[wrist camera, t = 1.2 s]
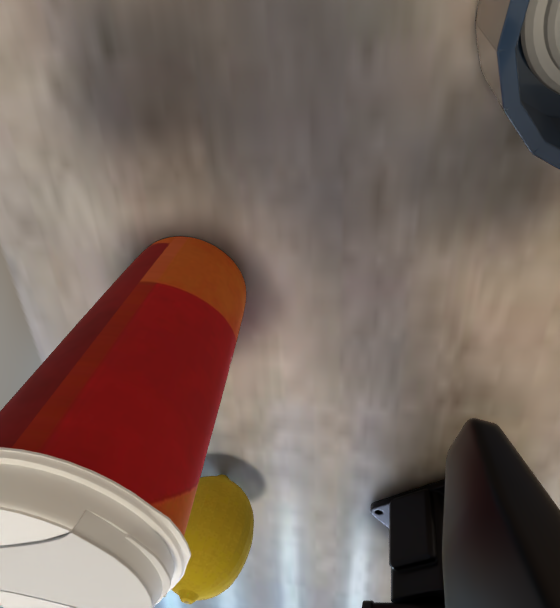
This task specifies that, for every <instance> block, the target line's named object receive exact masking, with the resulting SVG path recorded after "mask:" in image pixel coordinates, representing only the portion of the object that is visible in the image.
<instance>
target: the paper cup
mask: <svg viewBox="0 0 560 608" xmlns="http://www.w3.org/2000/svg"><path fill="white" fill-rule="evenodd" d="M245 303H246V286H245V281H244V279H243V276H242V274H241V272H240V270H239V269H238V267H237V266H236V264H235V263H234V262H233V261H232V259H231V258H230V257H229V256H227V255H226V254H225V253H224V252H223V251H221V250H220V249H218V248H217V247H215V246H213V245H212V244H210V243H207V242H205V241H202V240H199V239H196V238H191V237H182V236H179V237H169V238H165V239H162V240H159V241H157V242H155V243H153V244H152V245H150V246H149V247H148V248H147V249H145V250H144V251H143V252H142V253H141V254H140V255H139V256H138V257H137V258H136V259H135V260H134V262H133V263H132V264H131V265H130V266H129V267H128V268H127V269H126V270H125V271H124V272H123V273H122V274H121V276H120V277H119V278H118V279H117V280H116V281H115V282H114V283H113V284H112V286H111V287H110V288H109V289H108V290H107V291H106V292H105V293H104V294H103V296H102V297H101V298H100V299H99V300H98V301H97V302H96V303H95V305H94V306H93V307H92V308H91V309H90V310H89V311H88V312H87V314H86V315H85V316H84V317H83V318H82V319H81V320H80V321H79V323H78V324H77V325H76V326H75V327H74V328H73V329H72V330H71V332H70V333H69V334H68V335H67V336H66V337H65V338H64V340H63V341H62V342H61V343H60V344H59V345H58V346H57V347H56V349H55V350H54V351H53V352H52V353H51V354H50V355H49V357H48V358H47V359H46V360H45V361H44V362H43V363H42V365H41V366H40V367H39V368H38V369H37V370H36V371H35V372H34V374H33V375H32V376H31V377H30V378H29V379H28V380H27V382H26V383H25V384H24V385H23V386H22V387H21V388H20V390H19V391H18V392H17V393H16V394H15V395H14V396H13V397H12V399H11V400H10V401H9V402H8V403H7V404H6V405H5V407H4V408H3V409H2V410H1V411H0V606H2V607H4V608H153V607H154V606H155V605H156V604H157V603H159V602H160V601H161V599H162V598H163V597H165V596H166V594H167V592H168V591H169V590H171V589H172V588H173V587H175V585H176V584H177V583H178V582H179V581H180V580H181V578H182V577H183V575H184V573H185V570H186V566H187V564H188V561H189V559H190V557H191V552H190V549H189V546H188V543H187V541H186V539H185V538H184V535H185V531H186V528H187V524H188V520H189V516H190V513H191V509H192V505H193V502H194V498H195V494H196V491H197V487H198V483H199V479H200V476H201V472H202V468H203V465H204V461H205V457H206V454H207V450H208V446H209V443H210V439H211V435H212V431H213V428H214V424H215V420H216V417H217V413H218V409H219V406H220V402H221V398H222V394H223V391H224V387H225V383H226V379H227V376H228V372H229V368H230V364H231V361H232V357H233V353H234V349H235V345H236V342H237V338H238V334H239V330H240V326H241V322H242V317H243V313H244V308H245Z"/></svg>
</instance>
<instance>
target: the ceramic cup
mask: <svg viewBox="0 0 560 608" xmlns="http://www.w3.org/2000/svg"><path fill="white" fill-rule="evenodd" d="M529 2H530V0H479V4H478V9H477V16H476V20H475V21H476V23H475V26H476V38H477V48H478V53H479V58H480V65H481V71H482V74H483V75H484V77H485V79H486V81H487V82H488V84H489V86H490V88H491V89H492V91H493V93H494V95H495V97H496V98H497V100H498V102H499V104H500V105H501V107H502V109H503V111H504V112H505V114H506V115H507V117H508V119H509V120H510V122H511V123H512V125H513V126H514V128H515V129H516V131H517V132H518V134H519V136H520V137H521V139H522V140H523V142H524V143H525V145H526V146H527V148H528V149H529V151H530V152H531V153H532V154H533V155H535V156H536V157H538V158H540V159H542V160H544V161H545V162H547V163H549V164H551V165H552V166H554V167H556V168H558V169H559V170H560V95H559V94H557V93H555V92H553V91H552V90H550V89H548V88H547V87H546V86H545V85H543V84H542V83H541V82H540V81H539V80H538V79H537V78H536V76H535V75H534V74H533V72H532V71H531V69H530V67H529V66H528V64H527V61H526V59H525V56H524V53H523V48H522V44H521V33H520V32H521V29H522V25H523V22H524V19H525V15H526V12H527V9H528V5H529Z"/></svg>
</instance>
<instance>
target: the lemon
mask: <svg viewBox="0 0 560 608" xmlns="http://www.w3.org/2000/svg"><path fill="white" fill-rule="evenodd" d="M253 526H254V519H253V511H252V508H251V505H250V502H249V500H248V498H247V496H246V494H245V493H244V492H243V490H242V489H241V488H240V487H239V486H238V485H236V484H235V483H234V482H232V481H230V480H229V478H228V477H227V476H226V475H223V474H221V475H218V476H208V477H202V478H200V479H199V483H198V487H197V491H196V494H195V498H194V502H193V505H192V509H191V513H190V516H189V520H188V524H187V528H186V531H185V535H184V538H185V539H186V541H187V543H188V546H189V549H190V552H191V557H190V559H189V561H188V564H187V566H186V570H185V573H184V575H183V577H182V578H181V580H180V581H179V582H178V583H177V584H176V585H175V587H173V588H172V589H171V590H173V591H174V592H175V593H176V594H178V595H179V597H180V599H181V601H182V602H184V603H186V604H192V603H193V602H195V601H196V600H206V599H209V598H212V597H215V596H217V595H219V594H220V593H222V592H224V591H225V590H226V589H228V588H229V587H230V586H231V585H232V584H233V582H234V581H235V579H236V578H237V576H238V575H239V573H240V572H241V570H242V568H243V566H244V564H245V562H246V559H247V557H248V554H249V551H250V548H251V544H252V539H253Z"/></svg>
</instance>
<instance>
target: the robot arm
mask: <svg viewBox="0 0 560 608" xmlns="http://www.w3.org/2000/svg"><path fill="white" fill-rule="evenodd" d="M371 513H372V514H373V515H374V516H375V517H376V518H377V519H378V520H380V521H381V522H382V523H383V524H384V525H385V526H387V527H388V528H389V565H390V566H391V601H392V602H393V603H374V602H373V601H363V604H362V608H560V510H559V508H558V507H557V506H556V504H555V503H554V501H553V500H552V499H551V497H550V496H549V495H548V493H547V492H546V490H545V489H544V488H543V486H542V485H541V483H540V482H539V481H538V479H537V478H536V477H535V475H534V474H533V472H532V471H531V470H530V468H529V467H528V466H527V464H526V463H525V461H524V460H523V459H522V457H521V456H520V454H519V453H518V452H517V450H516V449H515V448H514V446H513V445H512V443H511V442H510V441H509V439H508V438H507V437H506V435H505V434H504V432H503V431H502V430H501V428H500V427H499V426H498V425H496V424H495V423H491V422H488V421H484V420H480V419H476V418H471V419H469V420H468V421H467V422H466V423H465V425H464V426H463V428H462V429H461V431H460V432H459V434H458V436H457V437H456V439H455V440H454V442H453V444H452V445H451V447H450V449H449V451H448V455H447V460H446V476H445V480H442V481H439V482H436V483H433V484H430V485H427V486H424V487H420V488H417V489H414V490H411V491H408V492H405V493H402V494H399V495H396V496H393V497H390V498H387V499H384V500H381V501H377V502H374V503H372V505H371Z"/></svg>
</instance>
